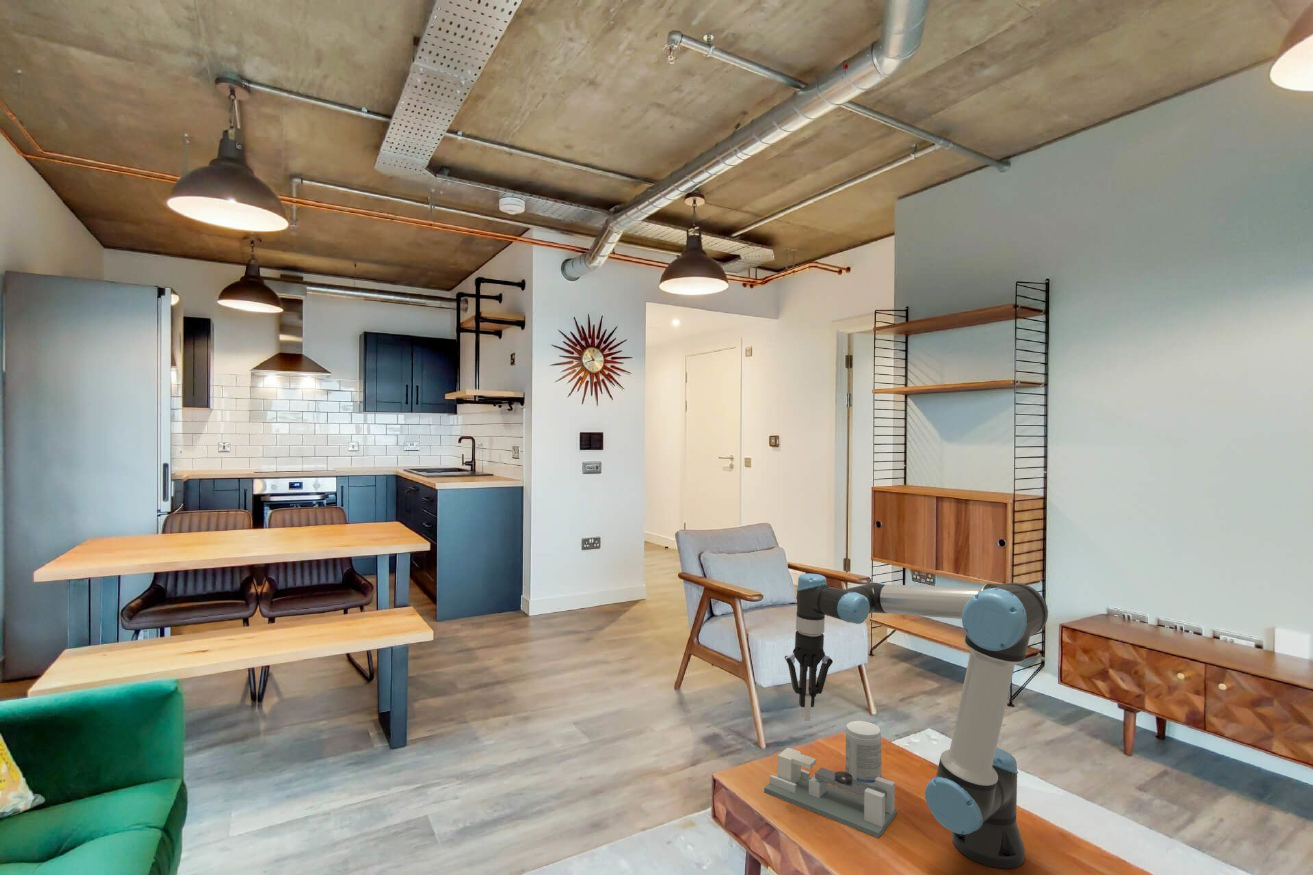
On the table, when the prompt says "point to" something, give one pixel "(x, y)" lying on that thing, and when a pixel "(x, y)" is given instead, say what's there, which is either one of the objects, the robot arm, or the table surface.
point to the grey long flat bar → (844, 781)
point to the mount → (840, 801)
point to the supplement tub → (863, 751)
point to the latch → (793, 764)
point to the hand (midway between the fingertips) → (806, 718)
